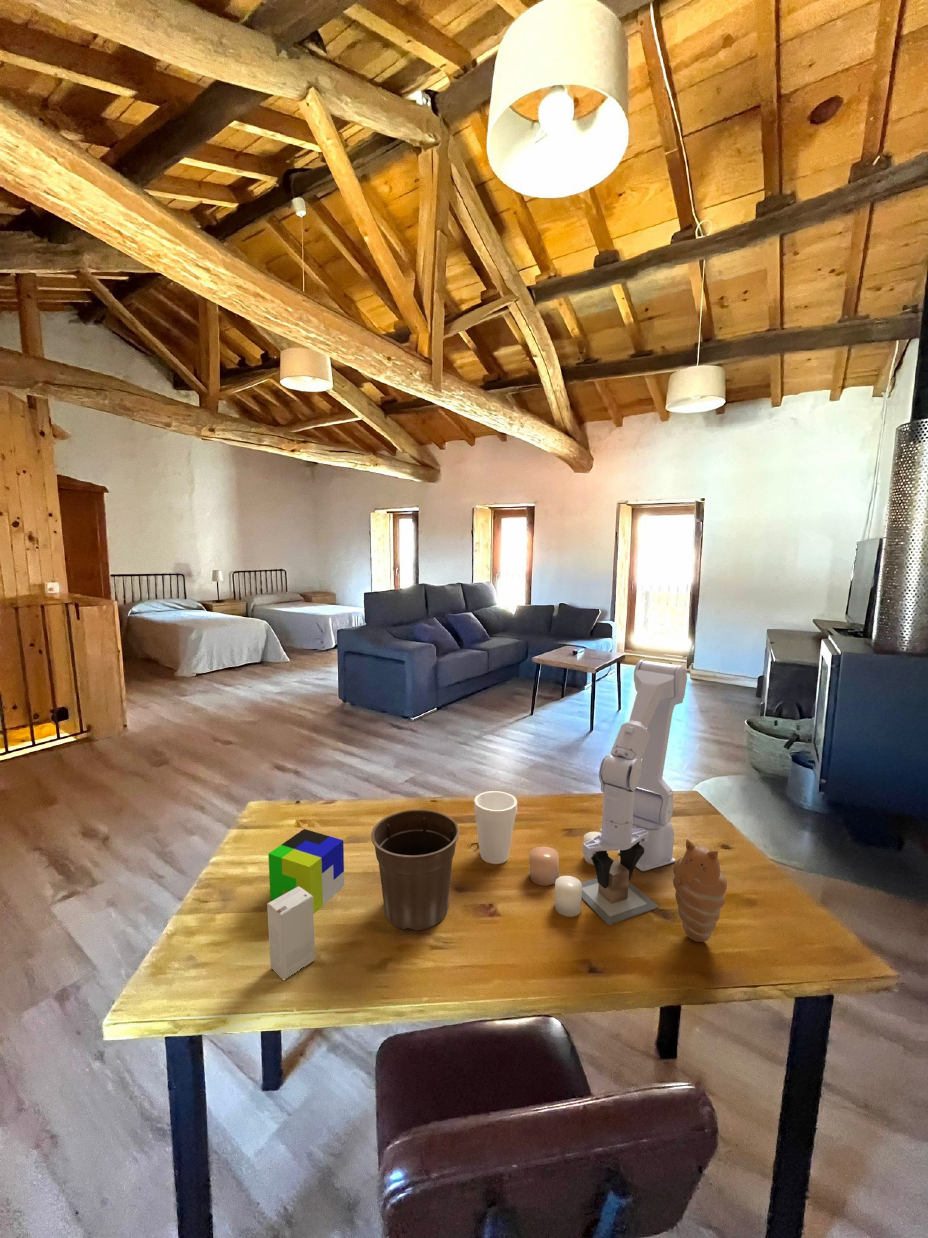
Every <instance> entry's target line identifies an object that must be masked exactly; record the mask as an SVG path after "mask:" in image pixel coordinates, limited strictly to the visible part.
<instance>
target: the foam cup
mask: <svg viewBox="0 0 928 1238" xmlns="http://www.w3.org/2000/svg"><path fill="white" fill-rule="evenodd" d="M473 811H474V814H475V823H476V831H477V839H478V846H479V853H480V854H479V855H480V857H481V860H483V861H484V862H486V863H488V864H492V865H499V864H503V863H506V861H508V860H509V857H510V851H511V844H512V838H513V832H514V827H515V821H516V816H517V812H518V800H517V798H516V797H515V795H512V794H511V793H509V792H505V791H499V790H498V791H497V790H488V791H484V792H481V793H479V794H478V795H476V796H475V797H474V800H473Z"/></svg>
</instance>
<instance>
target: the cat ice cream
mask: <svg viewBox="0 0 928 1238" xmlns="http://www.w3.org/2000/svg"><path fill="white" fill-rule="evenodd" d="M685 847H686V848H685V849H686V851H685V852H684V854H683V856H682V857H679V858H678V859H677V860H675V862H673V866H672V873H673V874H674V876H673V879H672V880H673V882H672V883H673V887H674V890H675V894H674V895H675V896H674V897H675V900H676V904H677V911H678V912H677V913H678V917H679V918H680V920H681V927H682V930H683V931H684V933H685V934H686V935H687V936H688V938H689V939H691V940H692V941H694V942H697V943H705V942H707V941H708V940H709V939H710V938H711V936H712V932H714V931H715V929H716V927H717V922H718V921H719V919H720V915H721V914H720V913H721V909H722V908H723V907H724V906H725V903H726V897H725V893H726V892H727V889H728V882H727V878H726V877H725V876H724V873H723V872H722V870H721V863H720V861H719V857H718V856H719V851H718V850H712V848H710V847H708V846H705V845H702V844H694V843H692V842H691V841H690V840H689V839H686V840H685Z"/></svg>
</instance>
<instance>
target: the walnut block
mask: <svg viewBox="0 0 928 1238" xmlns="http://www.w3.org/2000/svg"><path fill="white" fill-rule="evenodd" d="M612 860H613V861H614V862H613V864H612V866H611V869H610V873H609V882H608V887H607V888H603V887H602V886H601V885H600V884H598V892H599V893H600V894H601V895H602V896H603V897H604V898H605V899H606V900H607V901H608V902H609V903H611V904H613V903H616V902H619V901H622V900H625V899H628V883H629V882H630V881H629V870H628V869H627V868H626V867H624V866H623V865H622V864H621V863H620V862H619V861H618V860H617V859H612Z"/></svg>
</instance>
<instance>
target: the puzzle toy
mask: <svg viewBox="0 0 928 1238" xmlns="http://www.w3.org/2000/svg"><path fill="white" fill-rule="evenodd" d="M344 851H345V850H344V839H340V838H337V837H333V836H331V835H330V836H329V835H327V834H323V833H320V832H316V831H313V830H310V829H307V828H303V829H302V830H301V831H299V832H298V833H296V834H295V835H293V836H292V837H290V838H289V839H287V840H285V842H283V843H281V844H280V845H279V846H277V847H276V848H274V849H272V850H271V851H270V852H268V853H267V855H268V875H269V876H268V877H269V897H270V899H269V900H272V901H273V900H275V899H277V898H278V897H280V896H282V895H284V894H286V893H287V892H289V891H291V890H293V889H295V888H296V887H298V886H299V887H301V888H302V889H304V890H305V891H306V892H308V893H309V894H311V895H312V896H313V915H315V913H316V912H318V911H319V910H320V909H321V908H322V907H323V906H324V905H326V903H327V902H329V900H331V899H332V898H333V897H335V895H337V893H339V891H341V890H342V889H343V888H344V887H345V857H344V855H345V854H344Z"/></svg>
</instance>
